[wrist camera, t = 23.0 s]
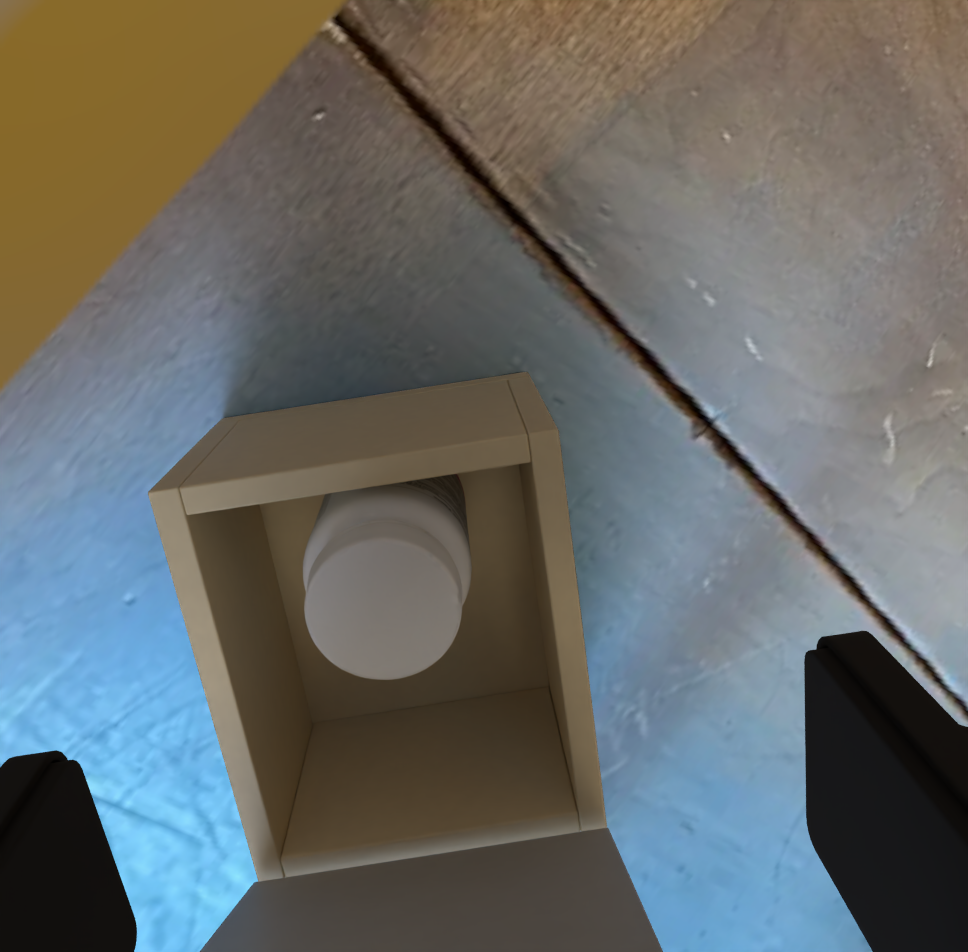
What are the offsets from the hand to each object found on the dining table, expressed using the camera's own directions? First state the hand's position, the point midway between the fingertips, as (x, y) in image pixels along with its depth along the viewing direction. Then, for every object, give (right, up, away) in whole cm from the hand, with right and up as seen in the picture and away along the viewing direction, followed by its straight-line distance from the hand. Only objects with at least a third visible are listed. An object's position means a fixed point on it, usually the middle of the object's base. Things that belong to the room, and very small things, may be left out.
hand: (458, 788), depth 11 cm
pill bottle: (-3, +3, +19) cm, 19 cm away
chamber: (-3, +1, +20) cm, 20 cm away
